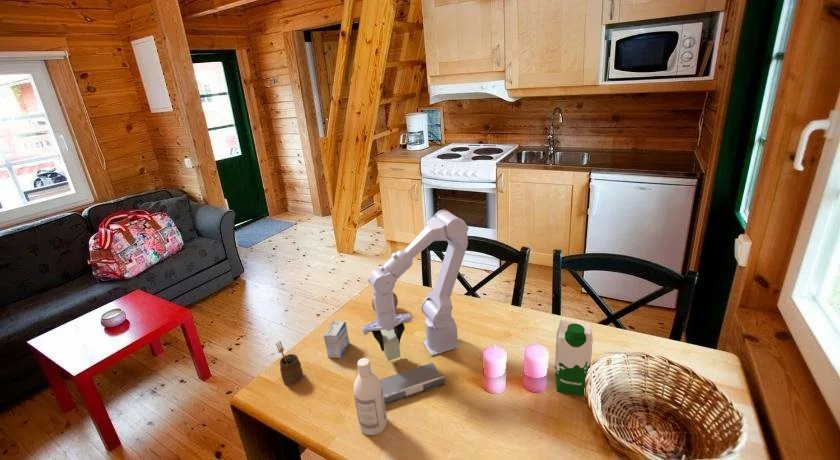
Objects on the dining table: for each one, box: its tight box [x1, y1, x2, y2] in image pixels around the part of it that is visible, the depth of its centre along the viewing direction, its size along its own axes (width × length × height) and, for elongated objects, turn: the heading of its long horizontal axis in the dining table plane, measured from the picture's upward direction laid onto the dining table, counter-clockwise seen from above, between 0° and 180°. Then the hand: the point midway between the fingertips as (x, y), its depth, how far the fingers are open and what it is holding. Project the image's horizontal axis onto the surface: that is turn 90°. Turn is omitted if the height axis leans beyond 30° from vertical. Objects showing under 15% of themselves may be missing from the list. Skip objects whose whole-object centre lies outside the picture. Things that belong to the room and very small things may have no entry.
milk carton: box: [554, 319, 594, 397], centre depth 106 cm, size 9×9×20 cm
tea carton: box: [381, 329, 401, 362], centre depth 121 cm, size 4×7×6 cm, turn 20°
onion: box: [371, 291, 399, 312], centre depth 148 cm, size 10×9×10 cm
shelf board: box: [379, 362, 446, 406], centre depth 114 cm, size 20×9×2 cm, turn 110°
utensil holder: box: [275, 341, 304, 386], centre depth 118 cm, size 6×6×12 cm
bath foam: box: [352, 357, 388, 436], centre depth 99 cm, size 7×7×20 cm
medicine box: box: [323, 320, 350, 359], centre depth 130 cm, size 8×4×9 cm, turn 168°
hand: (389, 346), depth 122 cm, fingers closed on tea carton, 4 cm apart
